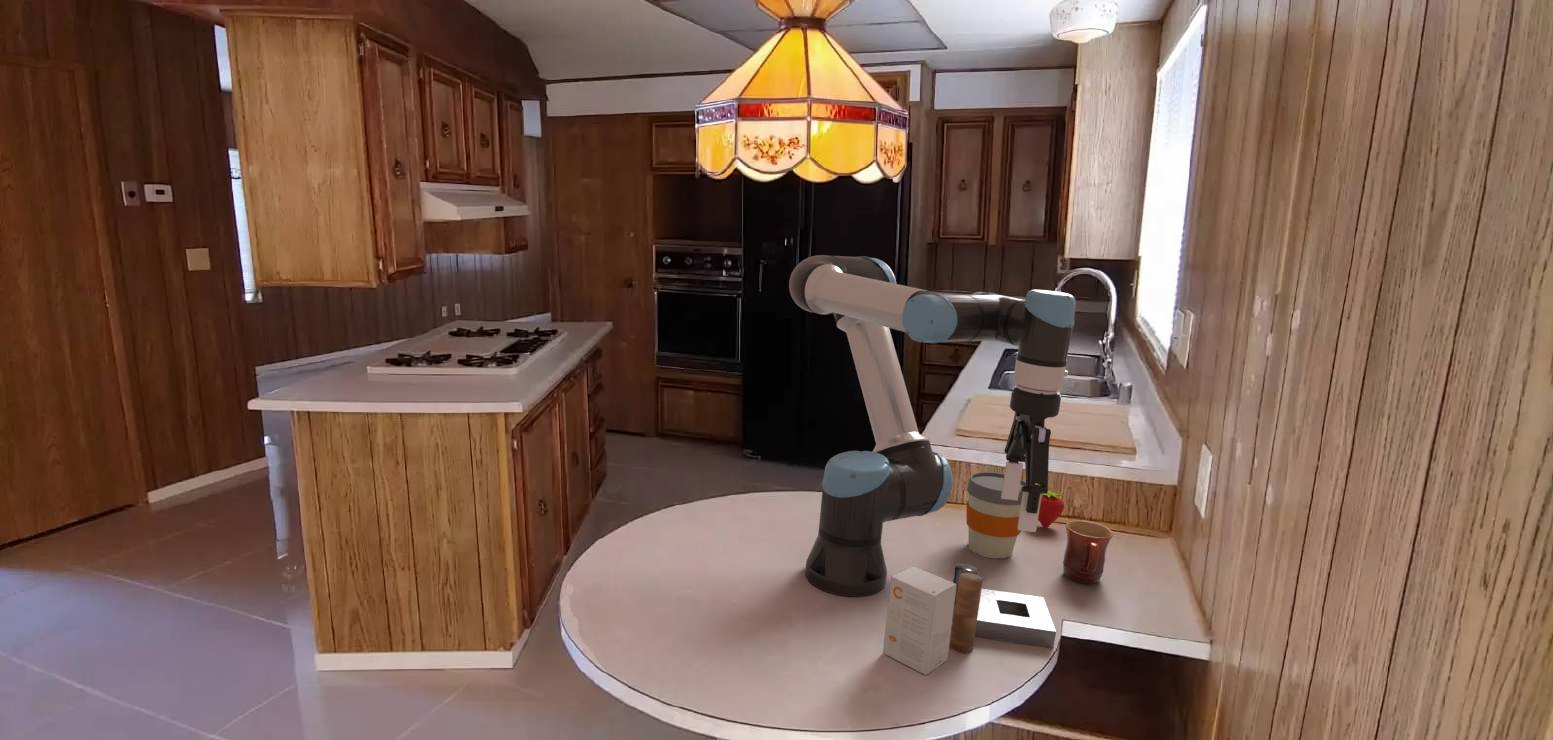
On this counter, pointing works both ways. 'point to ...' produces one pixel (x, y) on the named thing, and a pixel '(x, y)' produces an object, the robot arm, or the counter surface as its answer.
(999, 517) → the reusable coffee cup
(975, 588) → the wooden cylinder
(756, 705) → the counter surface
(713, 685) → the counter surface
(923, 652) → the small box
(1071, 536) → the mug
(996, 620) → the square hole fixture
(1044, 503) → the strawberry
